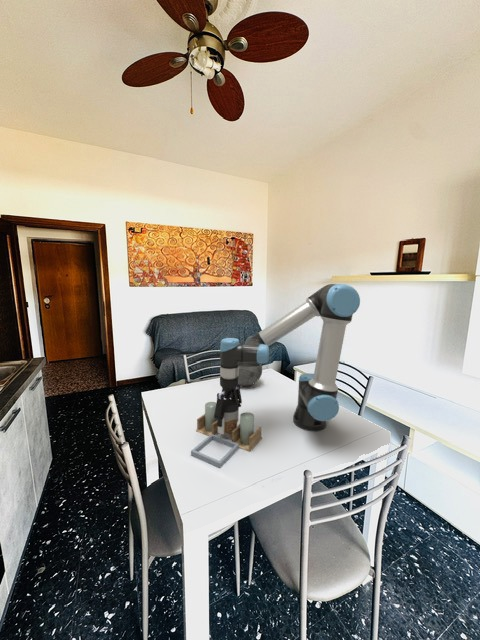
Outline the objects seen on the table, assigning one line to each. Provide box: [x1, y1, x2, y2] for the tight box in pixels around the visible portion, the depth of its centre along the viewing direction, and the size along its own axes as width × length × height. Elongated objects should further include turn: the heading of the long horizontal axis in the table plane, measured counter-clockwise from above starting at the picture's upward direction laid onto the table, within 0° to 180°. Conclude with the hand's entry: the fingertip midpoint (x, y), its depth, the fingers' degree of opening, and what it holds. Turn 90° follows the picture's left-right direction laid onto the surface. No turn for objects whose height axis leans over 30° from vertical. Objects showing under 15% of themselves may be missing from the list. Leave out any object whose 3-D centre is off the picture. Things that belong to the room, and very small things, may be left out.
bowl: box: [238, 363, 263, 387], centre depth 167 cm, size 21×21×15 cm
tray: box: [190, 434, 240, 469], centre depth 100 cm, size 13×13×2 cm
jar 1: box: [204, 401, 217, 432], centre depth 115 cm, size 6×6×11 cm
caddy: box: [195, 413, 263, 453], centre depth 111 cm, size 26×11×6 cm, turn 60°
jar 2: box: [239, 411, 255, 445], centre depth 106 cm, size 6×6×11 cm
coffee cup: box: [220, 398, 240, 440], centre depth 110 cm, size 8×8×15 cm
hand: (228, 426), depth 111 cm, fingers open, 10 cm apart
